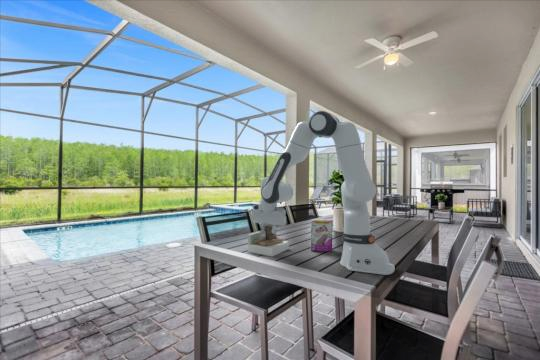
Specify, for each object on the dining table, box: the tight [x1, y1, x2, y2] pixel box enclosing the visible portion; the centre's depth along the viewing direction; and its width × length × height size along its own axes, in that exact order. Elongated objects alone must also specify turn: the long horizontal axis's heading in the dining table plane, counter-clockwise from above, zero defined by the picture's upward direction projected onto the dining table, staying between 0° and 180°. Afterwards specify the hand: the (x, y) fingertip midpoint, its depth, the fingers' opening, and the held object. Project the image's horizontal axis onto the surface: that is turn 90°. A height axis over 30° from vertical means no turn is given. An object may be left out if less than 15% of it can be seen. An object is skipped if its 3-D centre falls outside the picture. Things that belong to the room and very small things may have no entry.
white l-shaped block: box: [247, 230, 290, 257], centre depth 140 cm, size 15×17×9 cm
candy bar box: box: [310, 218, 334, 253], centre depth 141 cm, size 11×5×16 cm, turn 84°
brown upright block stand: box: [253, 225, 284, 246], centre depth 140 cm, size 9×14×8 cm, turn 138°
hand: (268, 232), depth 140 cm, fingers closed on brown upright block stand, 3 cm apart
